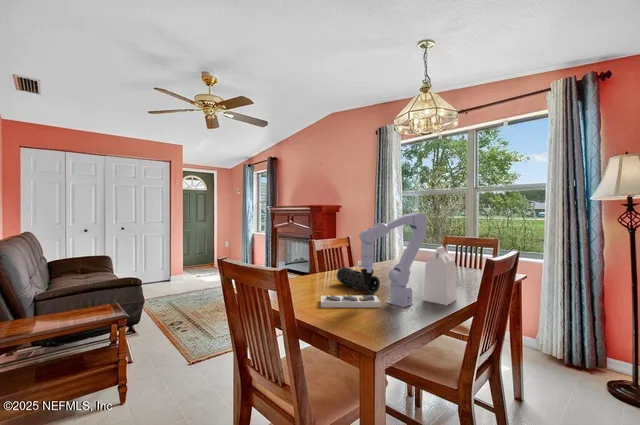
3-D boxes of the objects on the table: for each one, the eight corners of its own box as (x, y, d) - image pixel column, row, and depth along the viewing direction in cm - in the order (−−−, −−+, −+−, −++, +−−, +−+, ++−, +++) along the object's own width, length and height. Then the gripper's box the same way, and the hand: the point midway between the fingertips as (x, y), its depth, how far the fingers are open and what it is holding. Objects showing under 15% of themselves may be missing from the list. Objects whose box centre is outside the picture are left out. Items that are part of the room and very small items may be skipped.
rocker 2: (372, 296, 146) (371, 293, 146) (374, 298, 142) (373, 296, 142) (360, 299, 146) (359, 297, 146) (361, 302, 142) (360, 299, 142)
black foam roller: (366, 297, 157) (366, 276, 156) (335, 284, 180) (335, 267, 180) (380, 294, 162) (380, 274, 161) (348, 282, 185) (348, 265, 185)
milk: (433, 295, 160) (434, 245, 159) (456, 299, 152) (457, 247, 151) (423, 300, 151) (423, 247, 150) (446, 305, 143) (447, 249, 142)
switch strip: (376, 300, 150) (376, 295, 150) (380, 307, 140) (380, 301, 140) (320, 300, 150) (320, 295, 150) (320, 307, 140) (320, 301, 140)
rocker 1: (338, 299, 146) (339, 297, 146) (339, 302, 142) (339, 299, 142) (326, 296, 146) (326, 293, 146) (326, 298, 142) (327, 296, 142)
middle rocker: (355, 299, 146) (356, 297, 146) (356, 302, 142) (357, 299, 142) (343, 296, 146) (343, 293, 146) (343, 298, 142) (344, 296, 142)
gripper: (356, 253, 150) (356, 281, 151) (360, 258, 136) (360, 289, 136) (371, 253, 150) (371, 281, 151) (376, 258, 136) (376, 289, 136)
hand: (367, 284), depth 144 cm, fingers closed
